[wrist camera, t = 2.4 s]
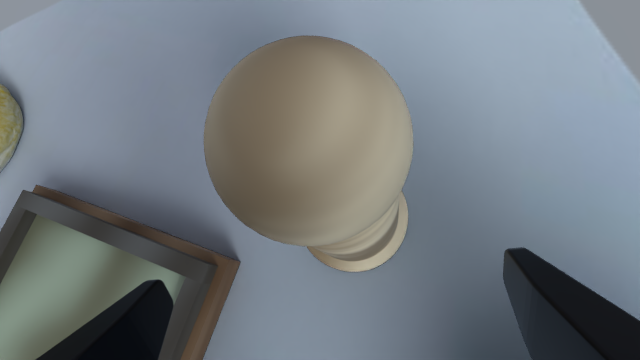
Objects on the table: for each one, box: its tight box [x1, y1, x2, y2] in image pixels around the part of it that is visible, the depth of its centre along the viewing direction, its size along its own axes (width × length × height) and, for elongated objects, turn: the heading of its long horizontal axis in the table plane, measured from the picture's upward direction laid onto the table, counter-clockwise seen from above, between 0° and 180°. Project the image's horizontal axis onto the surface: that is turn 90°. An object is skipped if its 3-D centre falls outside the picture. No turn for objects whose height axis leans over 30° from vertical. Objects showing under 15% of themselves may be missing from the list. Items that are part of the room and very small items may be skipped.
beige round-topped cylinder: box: [204, 36, 413, 272], centre depth 14 cm, size 6×6×14 cm
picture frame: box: [0, 185, 240, 360], centre depth 20 cm, size 15×15×2 cm
